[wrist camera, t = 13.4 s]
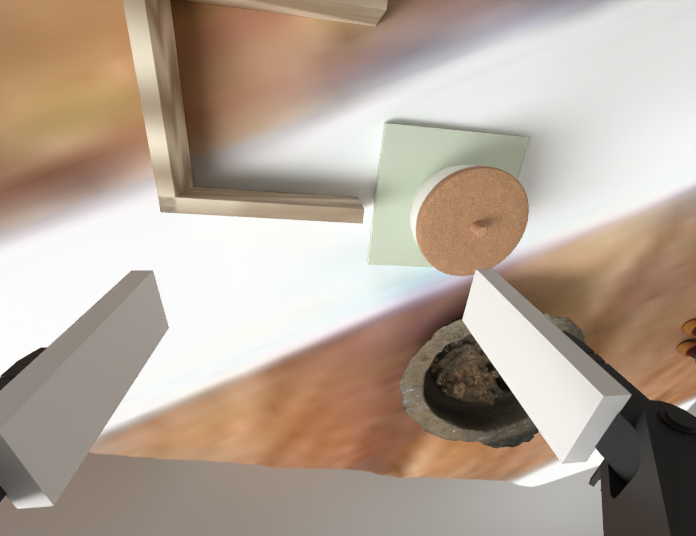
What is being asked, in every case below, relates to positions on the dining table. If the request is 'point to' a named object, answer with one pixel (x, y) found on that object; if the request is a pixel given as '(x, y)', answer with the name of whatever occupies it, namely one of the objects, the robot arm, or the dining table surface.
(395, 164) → the pad
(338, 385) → the dining table surface
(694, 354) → the binoculars
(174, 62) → the cubby
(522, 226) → the lidded jar
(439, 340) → the stone bowl
